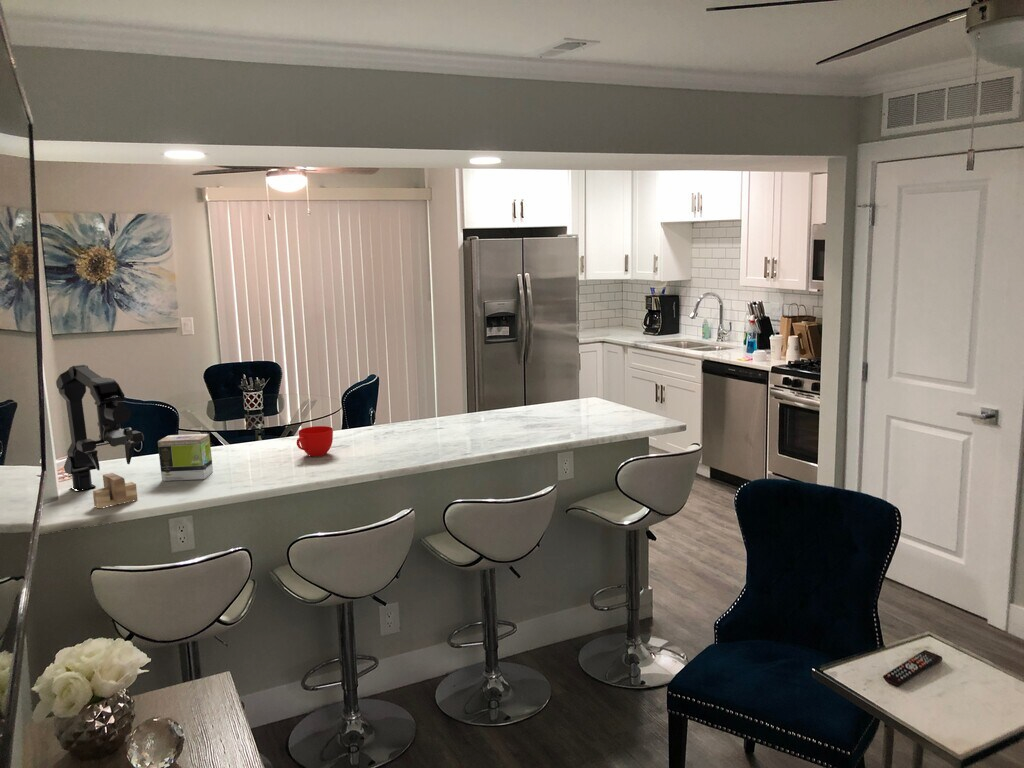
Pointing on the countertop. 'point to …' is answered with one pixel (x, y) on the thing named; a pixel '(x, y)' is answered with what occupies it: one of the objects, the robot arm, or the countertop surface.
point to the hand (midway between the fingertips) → (113, 467)
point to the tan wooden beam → (115, 486)
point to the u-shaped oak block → (104, 499)
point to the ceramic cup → (315, 440)
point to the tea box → (185, 457)
